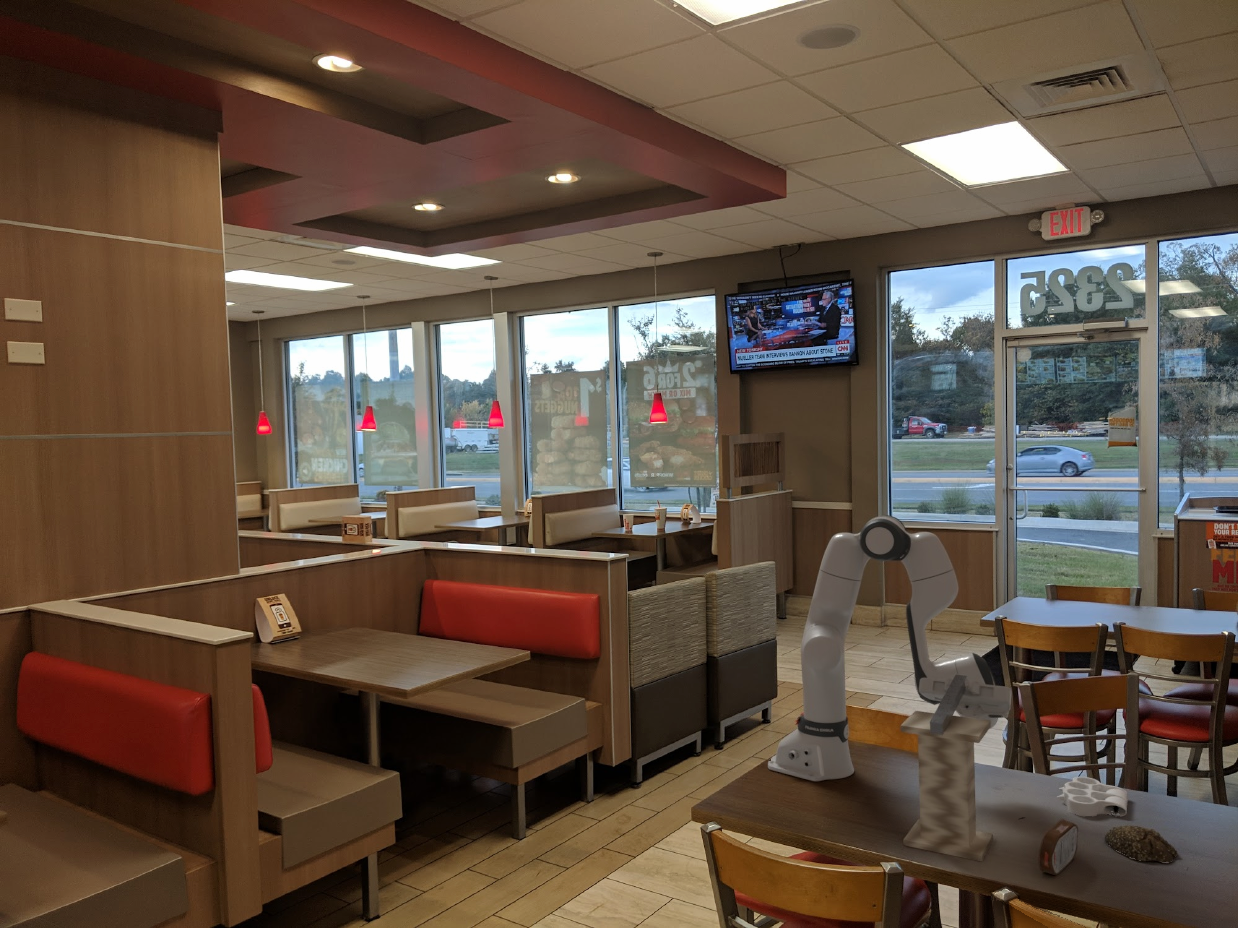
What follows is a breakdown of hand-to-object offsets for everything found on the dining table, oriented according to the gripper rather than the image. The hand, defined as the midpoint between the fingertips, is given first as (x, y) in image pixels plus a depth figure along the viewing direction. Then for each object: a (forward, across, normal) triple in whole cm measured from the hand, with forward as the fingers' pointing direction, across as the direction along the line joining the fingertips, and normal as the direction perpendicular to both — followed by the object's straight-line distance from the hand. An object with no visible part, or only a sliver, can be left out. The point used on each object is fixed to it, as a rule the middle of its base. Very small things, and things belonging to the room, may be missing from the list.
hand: (958, 683), depth 208 cm
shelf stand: (-5, 0, +34) cm, 34 cm away
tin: (-4, +22, +34) cm, 41 cm away
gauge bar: (+5, 0, +7) cm, 9 cm away
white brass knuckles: (-37, +24, +16) cm, 47 cm away
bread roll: (-18, +36, +26) cm, 48 cm away
